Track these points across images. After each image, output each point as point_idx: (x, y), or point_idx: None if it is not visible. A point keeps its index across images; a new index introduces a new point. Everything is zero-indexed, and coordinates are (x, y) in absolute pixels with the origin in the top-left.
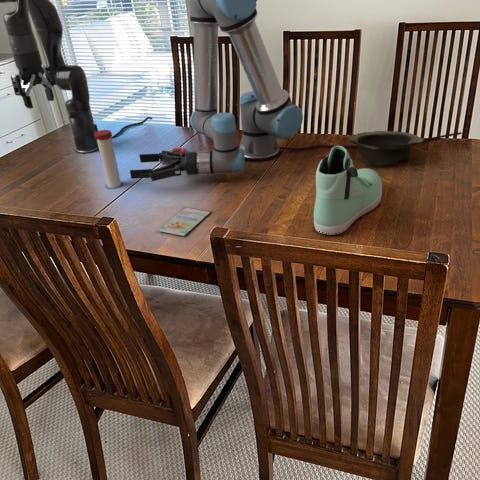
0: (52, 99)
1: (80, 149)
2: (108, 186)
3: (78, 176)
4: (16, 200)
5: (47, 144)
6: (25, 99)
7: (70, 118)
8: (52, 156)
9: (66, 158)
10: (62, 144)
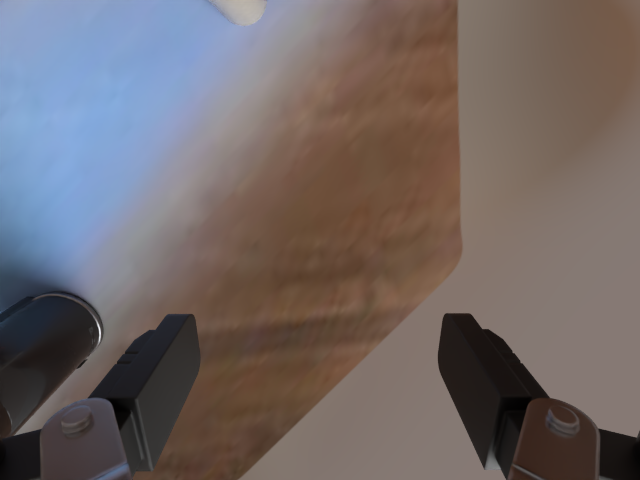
0: (182, 316)
1: (94, 328)
2: (265, 4)
3: (240, 192)
4: (439, 245)
5: None
6: (537, 397)
7: (12, 421)
8: None
9: None
10: None
